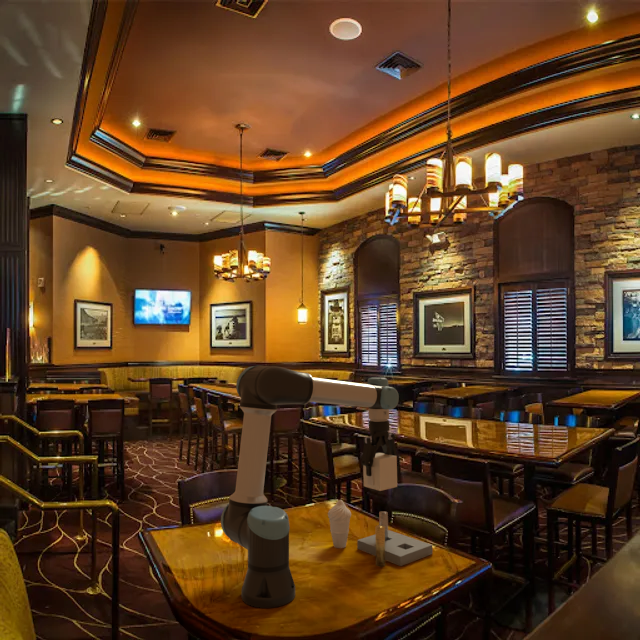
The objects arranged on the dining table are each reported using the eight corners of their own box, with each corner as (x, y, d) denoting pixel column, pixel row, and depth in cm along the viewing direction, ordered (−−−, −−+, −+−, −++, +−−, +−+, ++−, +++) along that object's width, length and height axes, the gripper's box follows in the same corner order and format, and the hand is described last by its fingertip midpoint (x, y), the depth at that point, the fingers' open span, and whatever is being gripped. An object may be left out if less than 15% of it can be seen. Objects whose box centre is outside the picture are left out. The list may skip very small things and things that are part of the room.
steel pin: (384, 549, 186) (383, 514, 187) (377, 547, 188) (377, 512, 189) (389, 547, 188) (389, 512, 189) (383, 545, 190) (383, 510, 191)
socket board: (400, 566, 171) (400, 556, 172) (357, 548, 187) (357, 540, 187) (432, 553, 182) (432, 544, 182) (389, 538, 197) (389, 530, 197)
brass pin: (380, 567, 171) (380, 528, 171) (373, 564, 173) (373, 526, 174) (387, 564, 173) (386, 526, 173) (380, 562, 175) (379, 524, 176)
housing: (380, 490, 189) (379, 459, 189) (363, 486, 195) (363, 455, 196) (397, 486, 194) (396, 456, 195) (380, 482, 201) (380, 452, 201)
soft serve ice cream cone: (342, 552, 184) (342, 504, 185) (323, 547, 189) (322, 500, 190) (356, 545, 190) (355, 499, 191) (336, 540, 195) (336, 495, 196)
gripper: (364, 423, 187) (365, 489, 185) (406, 418, 200) (408, 479, 198) (350, 421, 192) (351, 485, 191) (392, 416, 206) (393, 476, 204)
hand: (380, 482), depth 195 cm, fingers closed on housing, 9 cm apart
